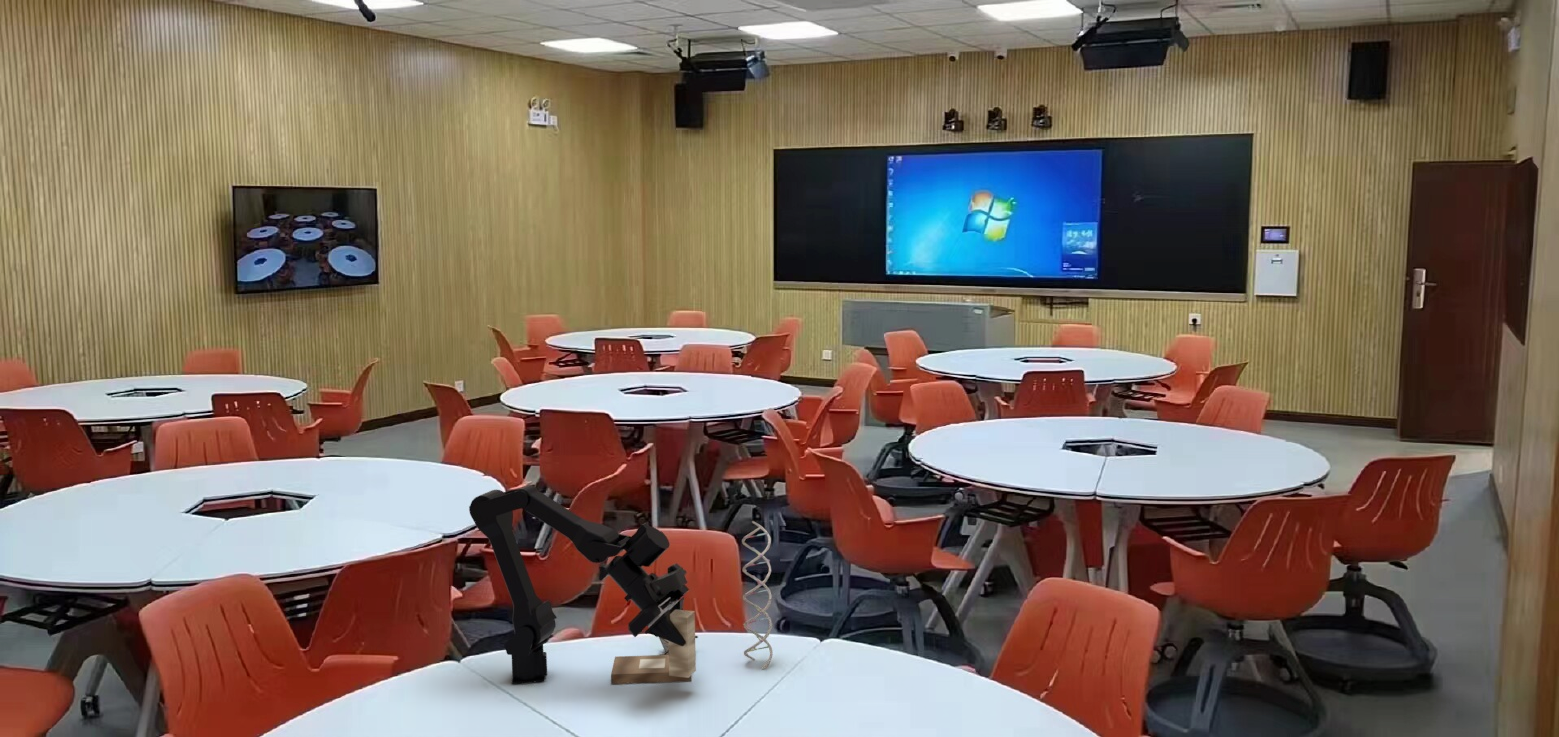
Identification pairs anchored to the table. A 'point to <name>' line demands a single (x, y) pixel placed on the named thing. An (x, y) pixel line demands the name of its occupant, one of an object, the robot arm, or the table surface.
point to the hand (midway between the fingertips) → (688, 640)
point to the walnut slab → (643, 670)
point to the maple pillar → (683, 656)
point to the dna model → (761, 583)
